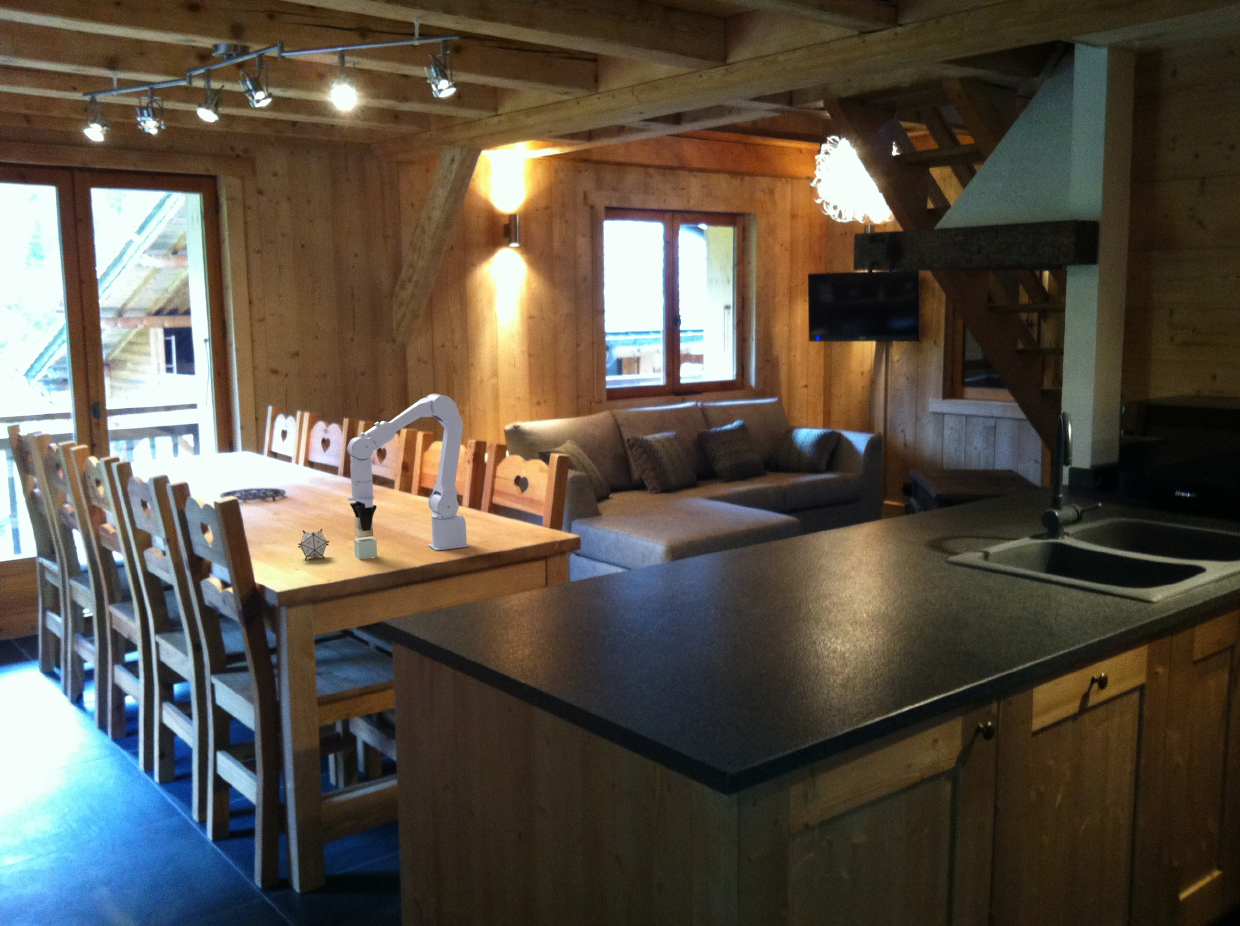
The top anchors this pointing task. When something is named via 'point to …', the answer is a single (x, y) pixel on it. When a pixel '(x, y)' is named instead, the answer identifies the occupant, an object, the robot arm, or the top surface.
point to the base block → (365, 548)
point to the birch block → (360, 532)
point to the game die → (313, 544)
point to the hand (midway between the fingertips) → (364, 528)
